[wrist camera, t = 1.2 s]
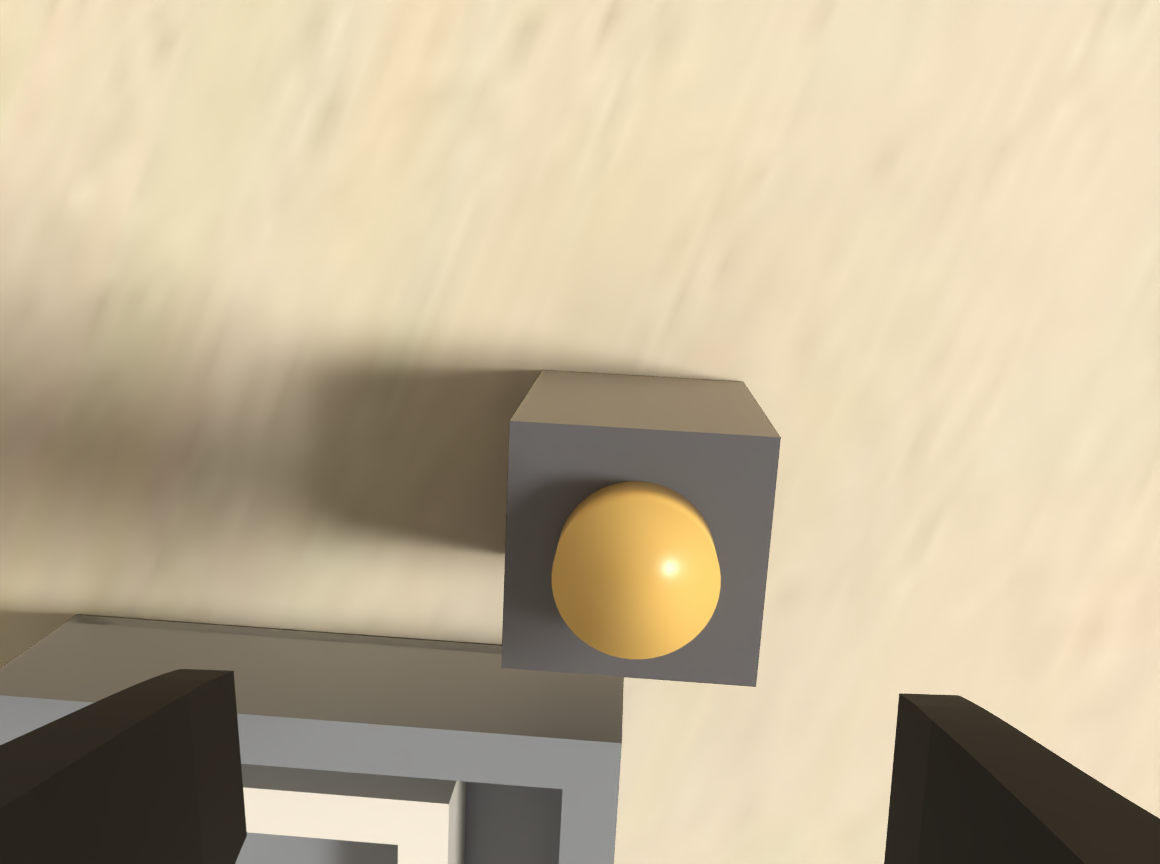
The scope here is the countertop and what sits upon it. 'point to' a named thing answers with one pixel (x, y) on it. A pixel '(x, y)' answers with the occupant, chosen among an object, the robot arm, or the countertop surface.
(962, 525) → the countertop surface
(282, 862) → the box
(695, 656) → the plug
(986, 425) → the countertop surface
